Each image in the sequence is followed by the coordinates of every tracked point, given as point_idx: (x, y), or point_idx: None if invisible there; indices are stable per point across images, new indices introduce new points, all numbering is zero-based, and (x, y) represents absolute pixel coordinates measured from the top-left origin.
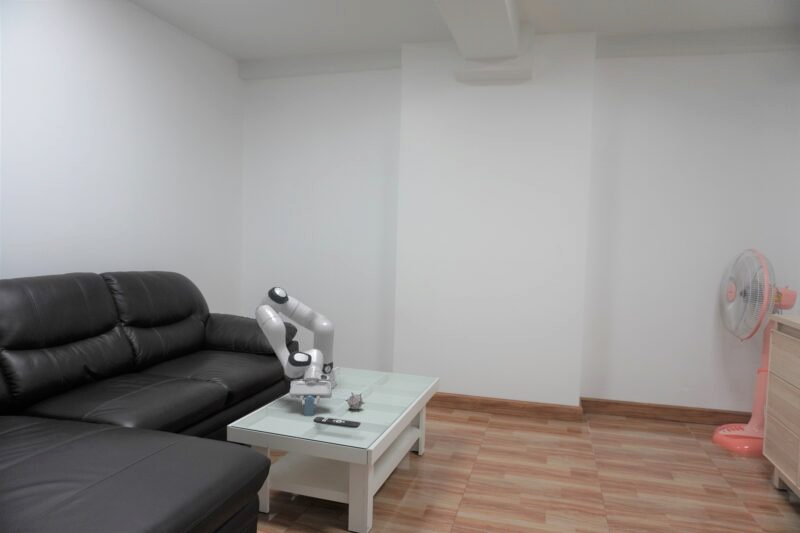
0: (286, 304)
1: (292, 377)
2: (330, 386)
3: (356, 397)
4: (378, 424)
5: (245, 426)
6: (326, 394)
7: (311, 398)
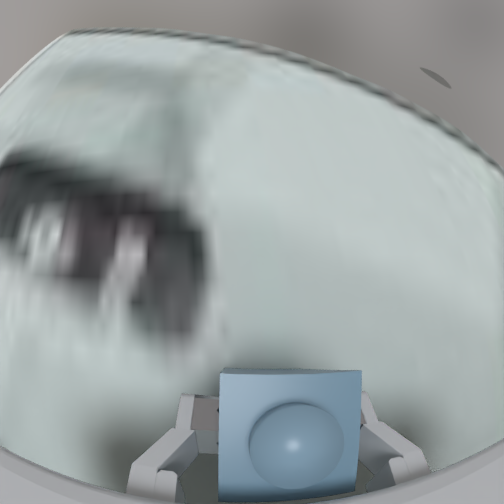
0: None
1: None
2: None
3: None
4: None
5: (498, 179)
6: (18, 459)
7: (255, 406)
